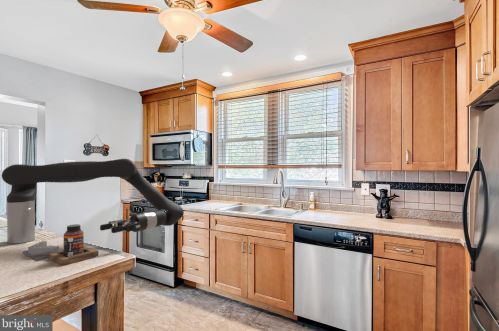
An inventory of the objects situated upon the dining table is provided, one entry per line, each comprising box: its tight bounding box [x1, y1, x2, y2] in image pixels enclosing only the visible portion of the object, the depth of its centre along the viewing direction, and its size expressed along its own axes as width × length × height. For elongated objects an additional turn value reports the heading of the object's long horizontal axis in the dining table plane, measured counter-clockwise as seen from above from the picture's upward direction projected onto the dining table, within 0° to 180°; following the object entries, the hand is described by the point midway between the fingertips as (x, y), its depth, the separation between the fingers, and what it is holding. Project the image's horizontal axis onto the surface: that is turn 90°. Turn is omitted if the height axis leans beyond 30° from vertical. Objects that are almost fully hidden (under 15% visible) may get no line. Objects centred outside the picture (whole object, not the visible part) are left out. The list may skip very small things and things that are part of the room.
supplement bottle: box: [63, 224, 85, 257], centre depth 96 cm, size 6×6×11 cm
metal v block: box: [22, 240, 63, 262], centre depth 100 cm, size 15×9×3 cm, turn 55°
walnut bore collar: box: [48, 245, 100, 266], centre depth 96 cm, size 12×11×2 cm
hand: (106, 229), depth 105 cm, fingers open, 8 cm apart
